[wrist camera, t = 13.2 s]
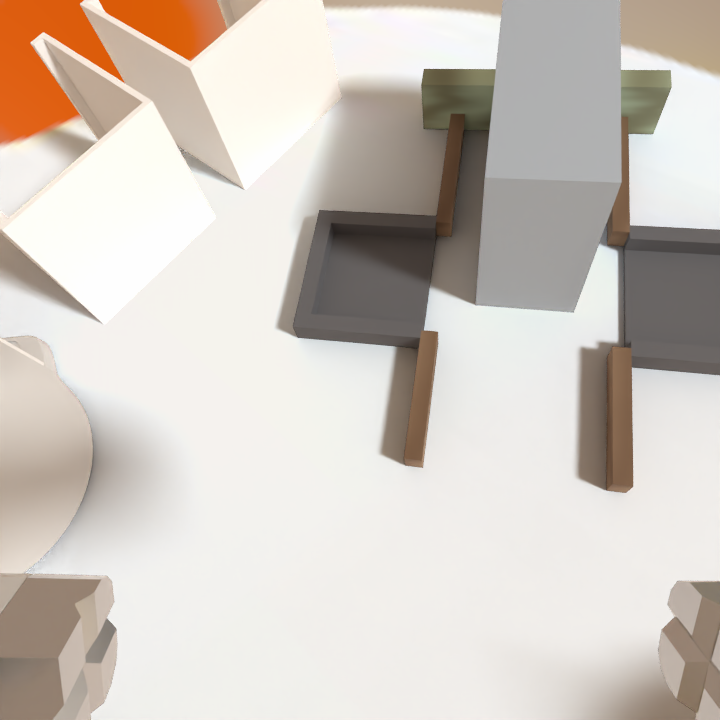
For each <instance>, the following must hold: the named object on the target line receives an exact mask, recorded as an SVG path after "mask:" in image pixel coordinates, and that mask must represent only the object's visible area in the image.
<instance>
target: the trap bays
mask: <svg viewBox="0 0 720 720" xmlns="http://www.w3.org/2000/svg"><path fill="white" fill-rule="evenodd" d="M436 218H437V216H428V215H408V214H387V213H367V212H347V211H326V210H319V214H318V219H317V223H316V227H315V232H314V236H313V240H312V245H311V249H310V254H309V258H308V262H307V267H306V271H305V275H304V280H303V284H302V289H301V293H300V297H299V302H298V306H297V310H296V315H295V319H294V324H293V328H294V330H295V332H296V334H297V336H298V338H309V339H320V340H332V341H343V342H354V343H365V344H376V345H388V346H399V347H410V348H419V343H420V336H421V330H423V331H424V324H425V317H426V309H427V302H428V295H429V287H430V280H431V272H432V265H433V257H434V250H435V243H436ZM624 339H625V347H626V348H631V360H632V367H635V368H646V369H657V370H668V371H680V372H691V373H702V374H713V375H720V230H712V229H692V228H672V227H651V226H631V225H630V233H629V235H628V237H627V240H626V242H625V244H624Z"/></svg>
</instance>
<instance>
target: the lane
mask: <svg viewBox="0 0 720 720" xmlns="http://www.w3.org/2000/svg"><path fill="white" fill-rule="evenodd" d="M495 73H496V69H424V72H423V78H422V84H421V86H422V106H423V125H424V129H449V130H448V137H447V145H446V152H445V159H444V167H443V174H442V181H441V189H440V196H439V203H438V211H437V218H436V236H450V237H451V235H452V226H453V218H454V210H455V202H456V194H457V186H458V178H459V170H460V161H461V153H462V145H463V137H464V130H490V122H491V112H492V102H493V93H494V83H495ZM670 90H671V70H621V174H622V183H621V186H620V188H619V191H618V194H617V196H616V199H615V202H614V205H613V207H612V210H611V213H610V215H609V218H608V221H607V245H613V246H624V244H625V242H626V240H627V237H628V235H629V233H630V213H629V139H628V133H634V134H653V133H654V130H655V128H656V125H657V123H658V120H659V118H660V115H661V113H662V110H663V108H664V105H665V103H666V100H667V97H668V95H669V92H670ZM437 348H438V332H435V331H423V330H421V336H420V343H419V350H418V358H417V365H416V372H415V380H414V387H413V394H412V402H411V409H410V416H409V424H408V431H407V438H406V446H405V453H404V461H405V465H406V466H414V467H422V468H423V462H424V454H425V446H426V438H427V430H428V422H429V414H430V405H431V397H432V389H433V381H434V373H435V365H436V357H437ZM632 487H633V433H632V360H631V348H626V347H614V346H613V347H612V349H611V351H610V353H609V354H608V356H607V461H606V490H607V491H615V492H623V493H626V492H627V491H629V490H630V489H631V488H632Z"/></svg>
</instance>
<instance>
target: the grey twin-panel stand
mask: <svg viewBox="0 0 720 720" xmlns="http://www.w3.org/2000/svg"><path fill="white" fill-rule="evenodd" d="M217 1H218V4H219V7H220V10H221V12H222V15H223V18H224V21H225V23H226V26H227V29H228V30H227V31H226V32H225V33H223V34H222V35H221V36H220V37H219V38H217V39H216V40H215V41H214V42H213V43H212V44H210V45H209V46H208V47H207V48H206V49H205V50H203V51H202V52H201V53H200V54H199V55H198V56H196V57H195V58H194V59H193V60H192V61H191V62H190V61H188V60H187V59H185V58H183V57H182V56H180V55H178V54H176V53H175V52H173V51H171V50H169V49H168V48H166V47H164V46H162V45H161V44H158V43H157V42H155V41H154V40H152V39H150V38H148V37H147V36H145V35H143V34H141V33H140V32H138V31H136V30H134V29H133V28H131V27H129V26H128V25H126V24H124V23H122V22H121V21H119V20H117V19H115V18H114V17H112V16H110V15H108V14H107V13H105V11H104V9H103V8H102V6H101V4H100V2H99V0H84V1H83V2H82V3H80V5H81V7H82V9H83V11H84V12H85V14H86V16H87V18H88V19H89V21H90V23H91V24H92V26H93V28H94V30H95V31H96V33H97V35H98V37H99V38H100V40H101V42H102V43H103V45H104V47H105V48H106V50H107V52H108V54H109V55H110V57H111V59H112V61H113V62H114V64H115V66H116V67H117V69H118V71H119V73H120V74H121V76H122V78H123V80H124V81H125V83H126V84H125V83H123V82H121V81H120V80H119V79H117V78H115V77H113V76H112V75H111V74H109V73H107V72H106V71H104V70H103V69H101V68H100V67H98V66H96V65H95V64H93V63H92V62H90V61H88V60H87V59H85V58H84V57H82V56H80V55H79V54H77V53H76V52H74V51H73V50H71V49H69V48H68V47H66V46H65V45H63V44H61V43H60V42H58V41H57V40H55V39H54V38H52V37H50V36H49V35H47V34H46V33H44V32H43V33H42V34H41V35H39V36H38V37H37V38H36V39H34V40H33V41H32V42H31V45H32V46H33V47H34V49H35V51H36V52H37V53H38V55H39V56H40V58H41V59H42V61H43V62H44V63H45V65H46V66H47V68H48V69H49V71H50V72H51V73H52V75H53V76H54V77H55V79H56V81H57V82H58V83H59V85H60V86H61V88H62V89H63V91H64V92H65V93H66V95H67V96H68V98H69V99H70V101H71V102H72V103H73V105H74V106H75V108H76V109H77V111H78V112H79V114H80V115H81V116H82V118H83V119H84V121H85V122H86V124H87V125H88V126H89V128H90V129H91V131H92V132H93V134H94V135H95V136H96V138H97V139H98V141H97V142H96V143H95V144H94V145H93V146H92V147H90V148H89V149H88V150H87V151H86V152H85V153H83V154H82V155H81V156H80V157H79V158H78V159H76V160H75V161H74V162H73V163H72V164H71V165H69V166H68V167H67V168H66V169H65V170H64V171H62V172H61V173H60V174H59V175H58V176H57V177H55V178H54V179H53V180H52V181H51V182H50V183H48V184H47V185H46V186H45V187H44V188H43V189H41V190H40V191H39V192H38V193H37V194H36V195H34V196H33V197H32V198H31V199H30V200H29V201H28V202H26V203H25V204H24V205H23V206H22V207H21V208H19V209H18V210H17V211H16V212H15V213H14V214H12V215H11V216H10V217H9V218H8V217H7V216H6V215H5V214H4V213H3V212H1V211H0V233H1V234H2V235H3V236H4V237H6V238H7V239H8V240H9V241H10V242H11V243H12V244H13V245H14V246H15V247H16V248H18V249H19V250H20V251H21V252H22V253H23V254H24V255H26V256H27V257H28V258H29V259H30V260H31V261H32V262H34V263H35V264H36V265H37V266H38V267H39V268H40V269H42V270H43V271H44V272H45V273H46V274H47V275H48V276H49V277H51V278H52V279H53V280H54V281H55V282H56V283H57V284H59V285H60V286H61V287H62V288H63V289H64V290H65V291H67V292H68V293H69V294H70V295H71V296H72V297H73V298H75V299H76V300H77V301H78V302H79V303H80V304H81V305H82V306H84V307H85V308H86V309H87V310H88V311H89V312H90V313H92V314H93V315H94V316H95V317H96V318H97V319H98V320H100V321H101V322H102V323H103V324H104V325H105V324H106V323H107V322H108V321H109V320H110V319H111V318H112V317H113V316H114V315H115V314H116V313H117V312H118V311H119V310H120V309H121V308H122V307H123V306H124V305H125V304H127V303H128V302H129V301H130V300H131V299H132V298H133V297H134V296H135V295H136V294H137V293H138V292H139V291H140V290H141V289H142V288H143V287H144V286H145V285H146V284H147V283H149V282H150V281H151V280H152V279H153V278H154V277H155V276H156V275H157V274H158V273H159V272H160V271H161V270H162V269H163V268H164V267H165V266H166V265H167V264H168V263H169V262H170V261H172V260H173V259H174V258H175V257H176V256H177V255H178V254H179V253H180V252H181V251H182V250H183V249H184V248H185V247H186V246H187V245H188V244H189V243H190V242H191V241H192V240H193V239H195V238H196V237H197V236H198V235H199V234H200V233H201V232H202V231H203V230H204V229H205V228H206V227H207V226H208V225H209V224H210V223H211V222H212V221H213V220H214V219H215V218H216V216H215V214H214V212H213V211H212V209H211V207H210V205H209V203H208V201H207V200H206V198H205V196H204V194H203V192H202V191H201V189H200V187H199V185H198V183H197V181H196V180H195V178H194V176H193V174H192V172H191V170H190V169H189V167H188V165H187V163H186V161H185V160H184V158H183V156H182V154H181V152H180V150H179V149H178V147H177V146H179V147H181V148H182V149H184V150H185V151H187V152H188V153H190V154H191V155H193V156H194V157H196V158H197V159H199V160H200V161H202V162H203V163H205V164H206V165H208V166H209V167H211V168H212V169H214V170H215V171H217V172H218V173H220V174H222V175H223V176H225V177H226V178H228V179H229V180H231V181H232V182H234V183H235V184H237V185H238V186H240V187H241V188H243V189H244V190H246V189H247V188H248V187H249V186H250V185H251V184H252V183H253V182H254V181H255V180H256V179H257V178H258V177H259V176H260V175H262V174H263V173H264V172H265V171H266V170H267V169H268V168H269V167H270V166H271V165H272V164H273V163H274V162H275V161H276V160H277V159H278V158H279V157H280V156H281V155H282V154H283V153H285V152H286V151H287V150H288V149H289V148H290V147H291V146H292V145H293V144H294V143H295V142H296V141H297V140H298V139H299V138H300V137H301V136H302V135H303V134H304V133H305V132H307V131H308V130H309V129H310V128H311V127H312V126H313V125H314V124H315V123H316V122H317V121H318V120H319V119H320V118H321V117H322V116H323V115H324V114H325V113H326V112H327V111H328V110H330V109H331V108H332V107H333V106H334V105H335V104H336V103H337V102H338V101H339V100H340V99H341V98H342V96H341V91H340V86H339V81H338V76H337V71H336V66H335V61H334V56H333V51H332V46H331V41H330V36H329V31H328V26H327V21H326V16H325V11H324V6H323V1H322V0H217Z"/></svg>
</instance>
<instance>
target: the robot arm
mask: <svg viewBox="0 0 720 720" xmlns="http://www.w3.org/2000/svg"><path fill="white" fill-rule="evenodd" d="M92 459H93V439H92V432H91V427H90V423H89V420H88V417H87V414H86V412H85V410H84V408H83V406H82V404H81V403H80V401H79V400H78V398H77V397H76V396H75V394H74V393H73V392H72V391H71V390H70V389H69V388H68V387H67V386H66V385H65V384H64V383H63V381H62V380H61V379H60V377H59V376H58V374H57V370H56V365H55V361H54V357H53V354H52V351H51V349H50V347H49V345H48V344H47V343H46V342H44V341H42V340H40V339H38V338H37V337H34V336H20V337H10V338H0V720H91V713H92V712H93V711H94V710H96V709H97V708H98V707H99V706H101V705H102V704H103V703H104V702H105V699H106V697H107V694H108V691H109V689H110V686H111V683H112V679H113V674H114V670H115V665H116V658H117V630H116V628H115V627H114V626H113V624H112V623H111V622H110V621H109V620H108V619H107V616H108V614H109V612H110V610H111V608H112V606H113V603H114V595H113V586H112V581H111V580H110V578H109V577H108V576H97V575H63V574H34V575H33V574H23V573H24V572H25V571H27V570H28V569H30V568H31V567H32V566H33V565H34V564H36V563H37V562H38V561H39V560H40V559H41V558H42V557H43V556H44V555H45V554H46V553H47V552H48V551H49V550H50V549H51V548H52V547H53V546H54V545H55V543H56V542H57V541H58V540H59V538H60V537H61V536H62V535H63V533H64V532H65V530H66V529H67V527H68V526H69V524H70V523H71V521H72V519H73V518H74V516H75V514H76V512H77V510H78V508H79V506H80V504H81V502H82V499H83V497H84V494H85V491H86V488H87V485H88V482H89V478H90V473H91V467H92ZM667 605H668V606H669V608H670V610H671V612H672V613H673V615H674V618H673V619H672V620H671V621H670V622H669V623H668V624H667V625H666V626H665V627H664V628H663V629H662V630H661V636H660V641H659V647H658V652H659V659H660V667H661V671H662V673H663V676H664V678H665V681H666V684H667V685H668V687H669V689H670V690H671V692H672V693H673V695H674V696H675V698H676V699H677V700H678V701H679V702H681V703H682V704H684V705H685V706H687V707H688V708H690V709H691V710H693V711H694V712H696V719H695V720H720V581H677V582H676V584H675V585H674V586H673V588H672V589H671V592H670V596H669V600H668V604H667Z"/></svg>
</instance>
